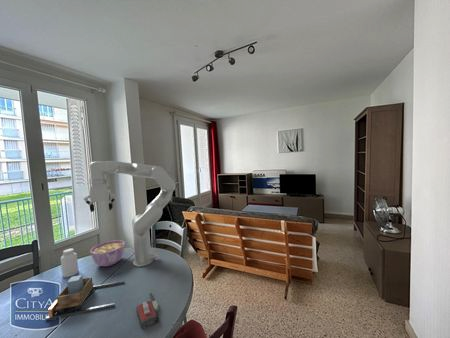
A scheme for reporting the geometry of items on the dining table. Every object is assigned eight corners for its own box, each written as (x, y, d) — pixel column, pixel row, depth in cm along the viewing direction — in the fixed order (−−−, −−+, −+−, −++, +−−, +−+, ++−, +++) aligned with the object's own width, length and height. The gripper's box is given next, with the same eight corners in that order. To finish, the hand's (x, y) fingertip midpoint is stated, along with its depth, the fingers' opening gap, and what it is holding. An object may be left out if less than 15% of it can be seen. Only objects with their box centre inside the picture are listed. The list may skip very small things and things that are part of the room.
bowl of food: (116, 270, 124) (115, 252, 123) (84, 272, 124) (82, 254, 123) (131, 255, 144) (130, 239, 143) (103, 256, 144) (102, 240, 143)
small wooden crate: (94, 289, 106) (93, 275, 106) (81, 310, 92) (80, 294, 91) (73, 293, 104) (71, 279, 104) (56, 315, 90) (54, 299, 89)
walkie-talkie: (163, 321, 84) (152, 295, 100) (163, 311, 83) (152, 286, 100) (141, 332, 79) (133, 302, 96) (140, 321, 79) (132, 293, 96)
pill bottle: (81, 270, 127) (79, 247, 126) (70, 277, 119) (68, 253, 118) (70, 270, 128) (67, 247, 127) (58, 277, 120) (56, 253, 119)
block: (83, 290, 101) (82, 274, 100) (79, 296, 96) (78, 280, 96) (73, 292, 99) (71, 276, 99) (68, 298, 95) (67, 282, 95)
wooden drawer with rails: (124, 282, 112) (123, 273, 111) (114, 306, 93) (113, 296, 93) (68, 292, 105) (67, 283, 105) (45, 321, 87) (44, 310, 87)
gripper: (116, 180, 126) (119, 207, 127) (85, 182, 122) (88, 210, 123) (113, 181, 119) (115, 210, 120) (79, 184, 114) (82, 213, 116)
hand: (101, 210), depth 121 cm, fingers open, 9 cm apart
